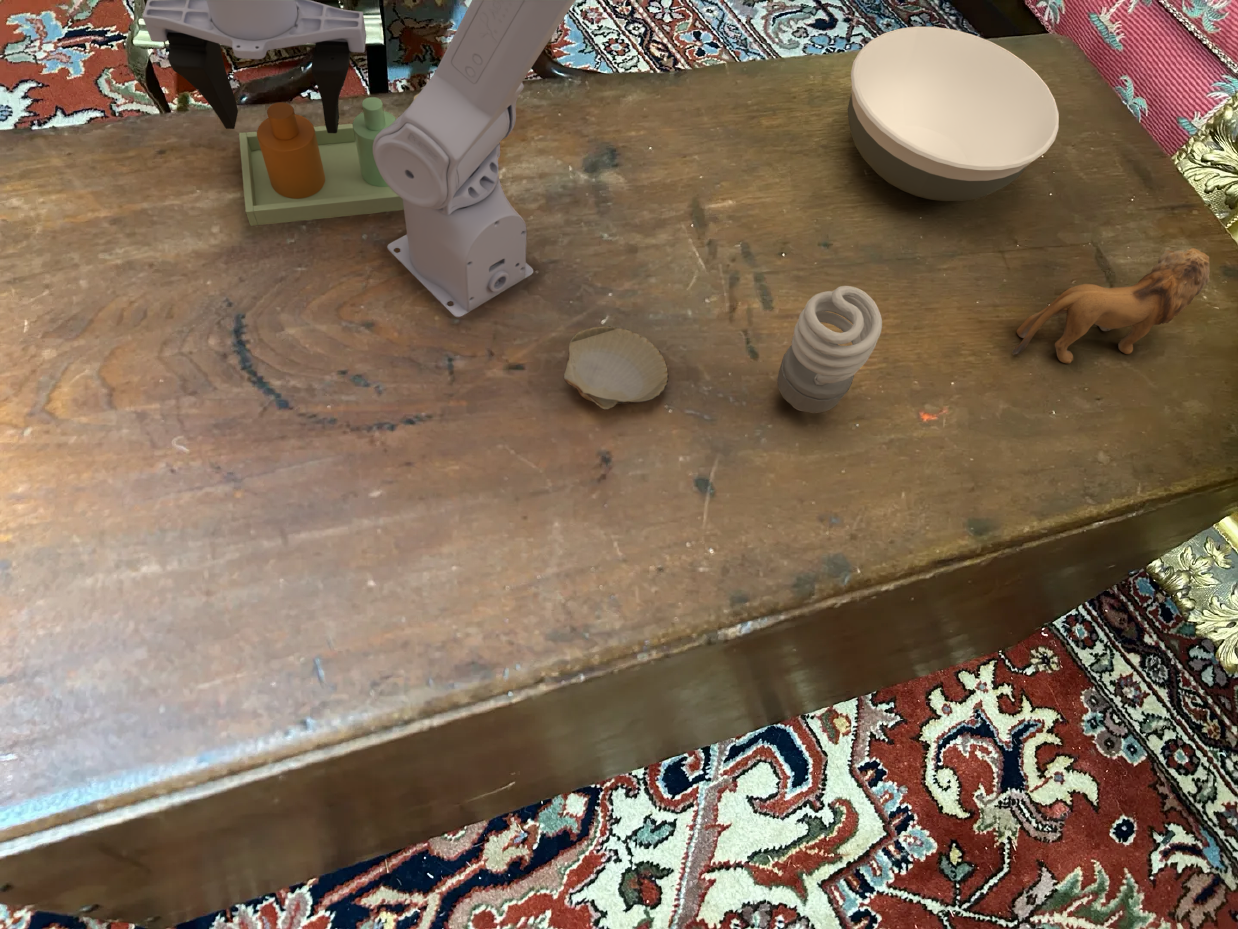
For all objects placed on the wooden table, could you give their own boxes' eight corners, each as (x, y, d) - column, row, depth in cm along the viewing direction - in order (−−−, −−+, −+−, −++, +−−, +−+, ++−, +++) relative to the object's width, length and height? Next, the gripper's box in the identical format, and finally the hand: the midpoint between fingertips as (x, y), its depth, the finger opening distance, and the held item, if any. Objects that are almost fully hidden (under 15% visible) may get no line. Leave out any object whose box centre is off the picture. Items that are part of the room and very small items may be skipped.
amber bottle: (333, 189, 76) (318, 120, 70) (282, 205, 74) (263, 136, 68) (313, 155, 78) (296, 85, 72) (262, 170, 76) (241, 100, 70)
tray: (467, 132, 82) (467, 113, 80) (486, 205, 78) (486, 187, 76) (244, 152, 78) (238, 132, 76) (251, 230, 73) (245, 211, 72)
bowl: (865, 248, 80) (900, 176, 73) (797, 106, 89) (822, 29, 82) (1049, 227, 84) (1099, 157, 77) (965, 93, 93) (1004, 19, 86)
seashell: (671, 392, 72) (606, 317, 73) (689, 372, 70) (621, 296, 70) (603, 443, 67) (534, 363, 68) (619, 424, 65) (547, 341, 66)
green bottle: (412, 175, 78) (404, 107, 72) (377, 193, 76) (366, 125, 70) (387, 151, 79) (377, 82, 73) (352, 168, 77) (339, 99, 71)
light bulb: (838, 437, 70) (896, 341, 59) (767, 432, 69) (813, 334, 59) (831, 377, 72) (885, 276, 62) (762, 372, 72) (805, 269, 62)
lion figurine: (1130, 300, 80) (1196, 226, 73) (1166, 346, 78) (1239, 275, 70) (993, 334, 77) (1048, 261, 69) (1027, 384, 74) (1088, 314, 66)
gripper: (107, -19, 56) (176, 154, 68) (347, -5, 58) (374, 161, 70) (130, -84, 60) (192, 91, 71) (356, -68, 62) (380, 100, 73)
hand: (282, 122), depth 71 cm, fingers open, 7 cm apart
